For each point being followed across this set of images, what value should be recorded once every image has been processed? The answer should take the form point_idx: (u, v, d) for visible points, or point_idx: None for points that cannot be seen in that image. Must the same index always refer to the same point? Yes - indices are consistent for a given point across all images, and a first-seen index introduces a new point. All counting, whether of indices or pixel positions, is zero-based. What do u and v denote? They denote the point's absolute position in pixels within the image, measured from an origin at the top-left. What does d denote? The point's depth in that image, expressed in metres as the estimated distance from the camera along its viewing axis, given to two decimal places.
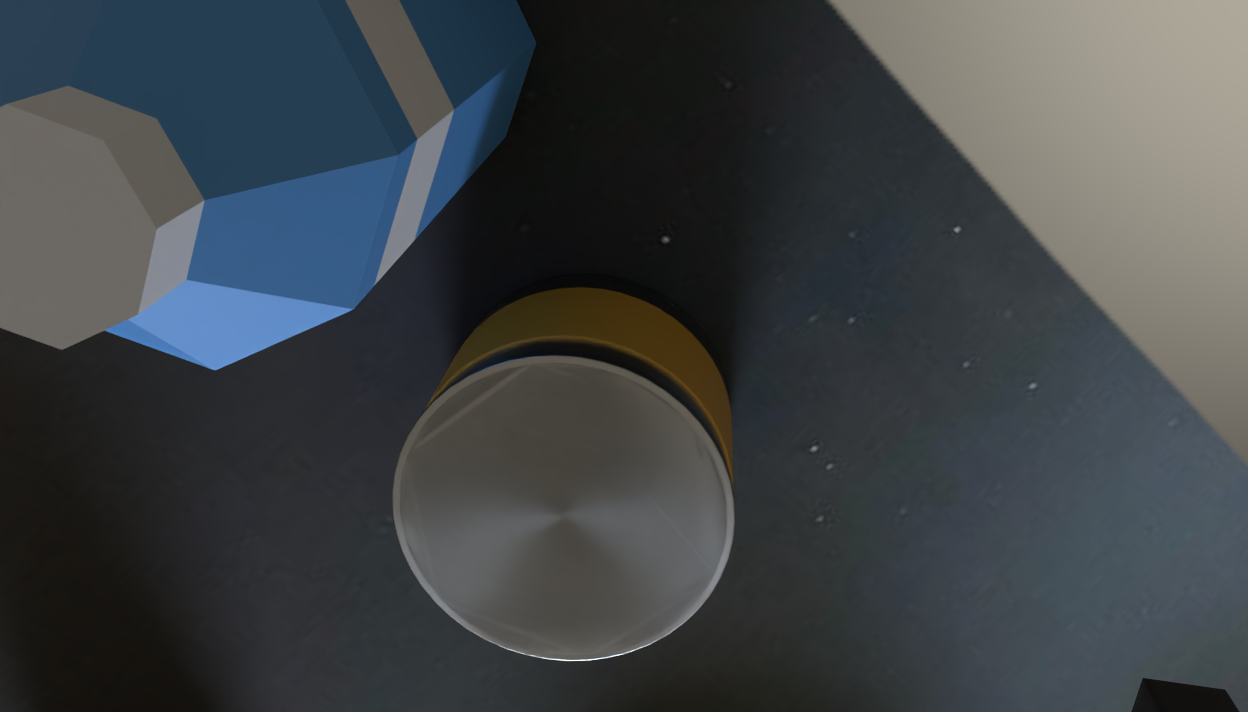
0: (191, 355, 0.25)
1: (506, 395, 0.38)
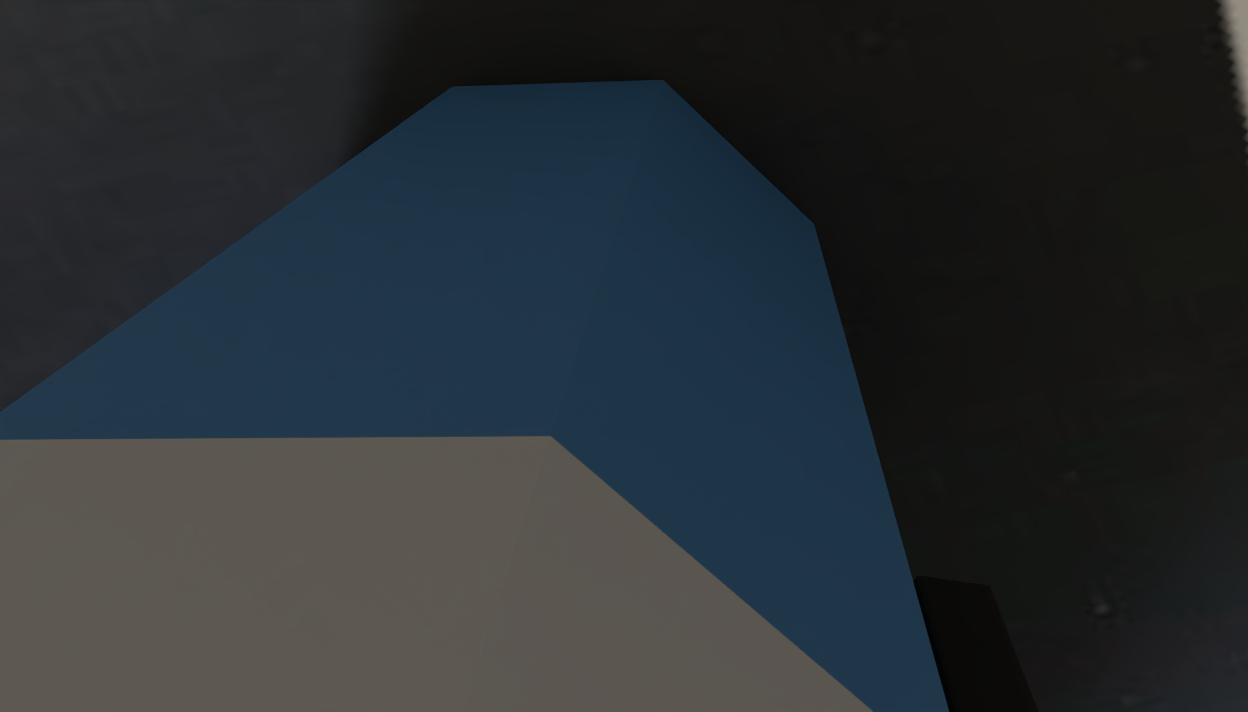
0: None
1: None
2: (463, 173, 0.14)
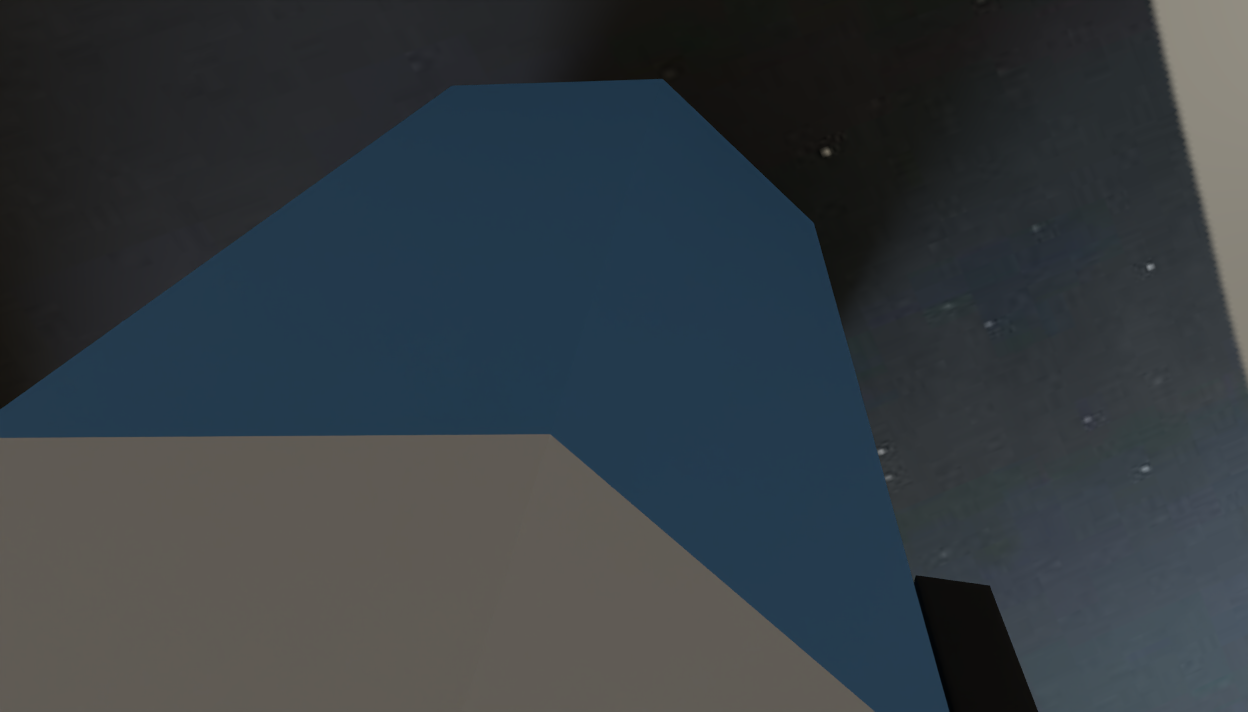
0: None
1: None
2: (462, 172, 0.14)
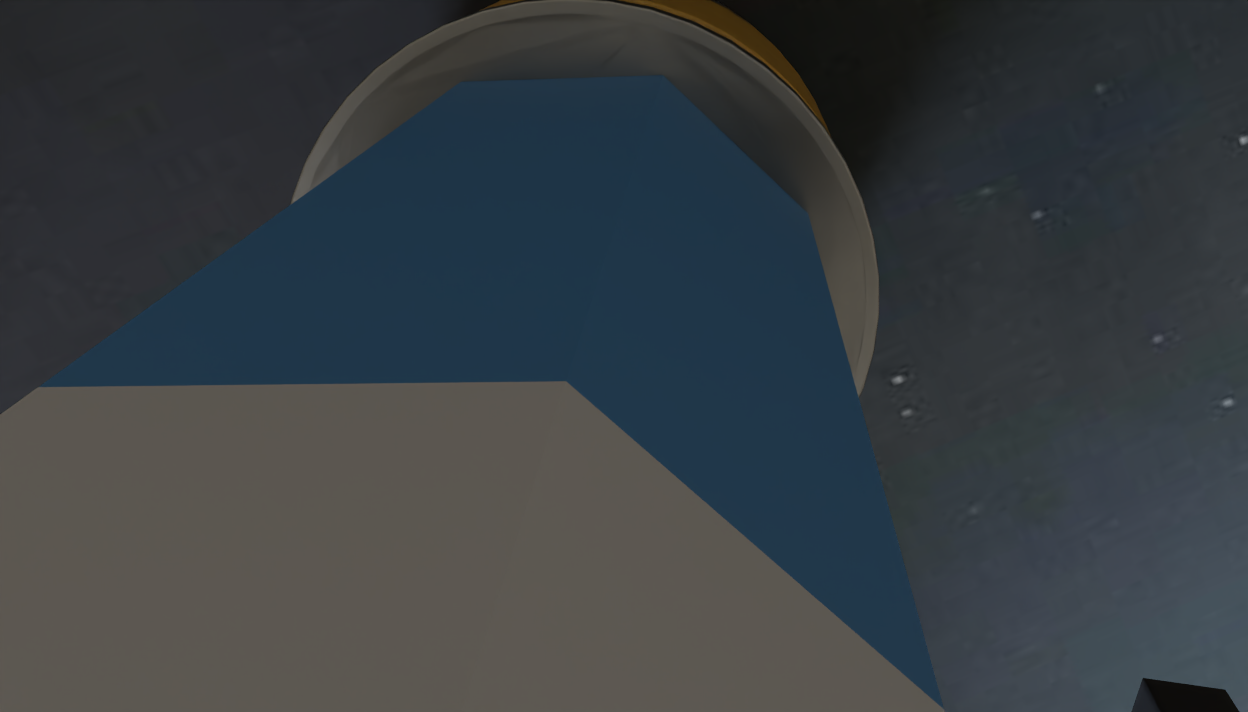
0: None
1: (575, 64, 0.21)
2: (476, 160, 0.14)
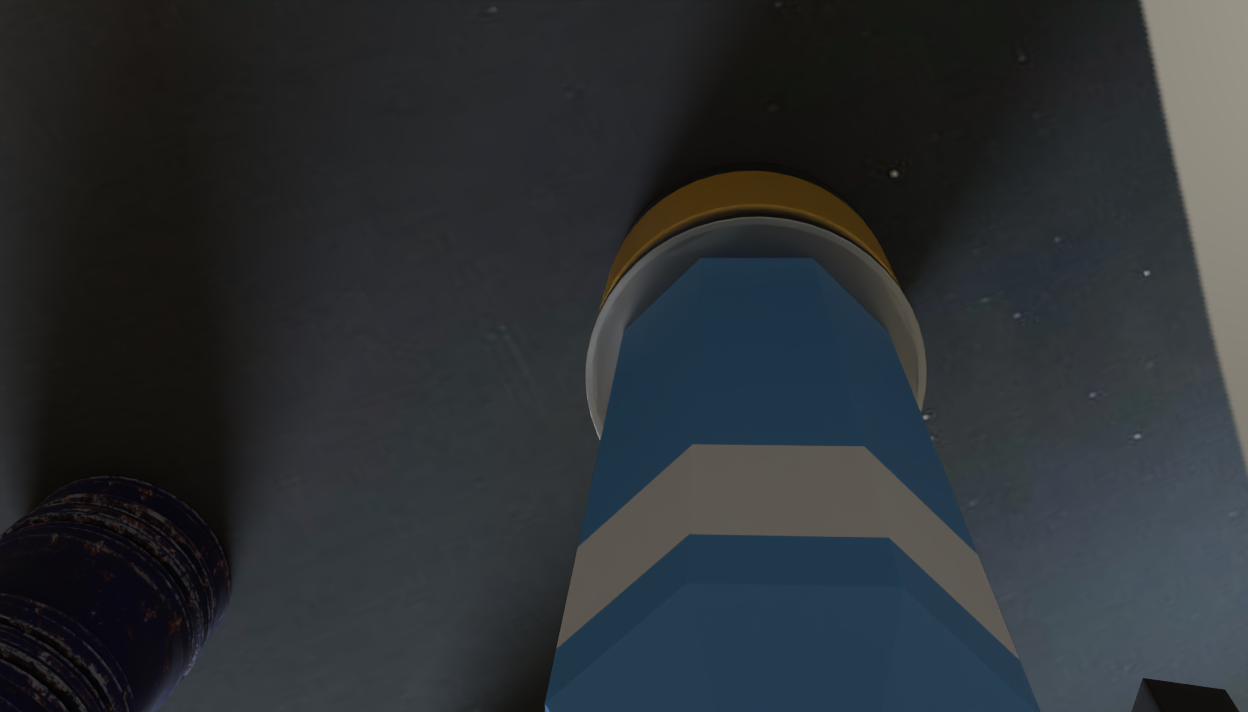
0: None
1: (765, 250, 0.38)
2: (758, 330, 0.32)
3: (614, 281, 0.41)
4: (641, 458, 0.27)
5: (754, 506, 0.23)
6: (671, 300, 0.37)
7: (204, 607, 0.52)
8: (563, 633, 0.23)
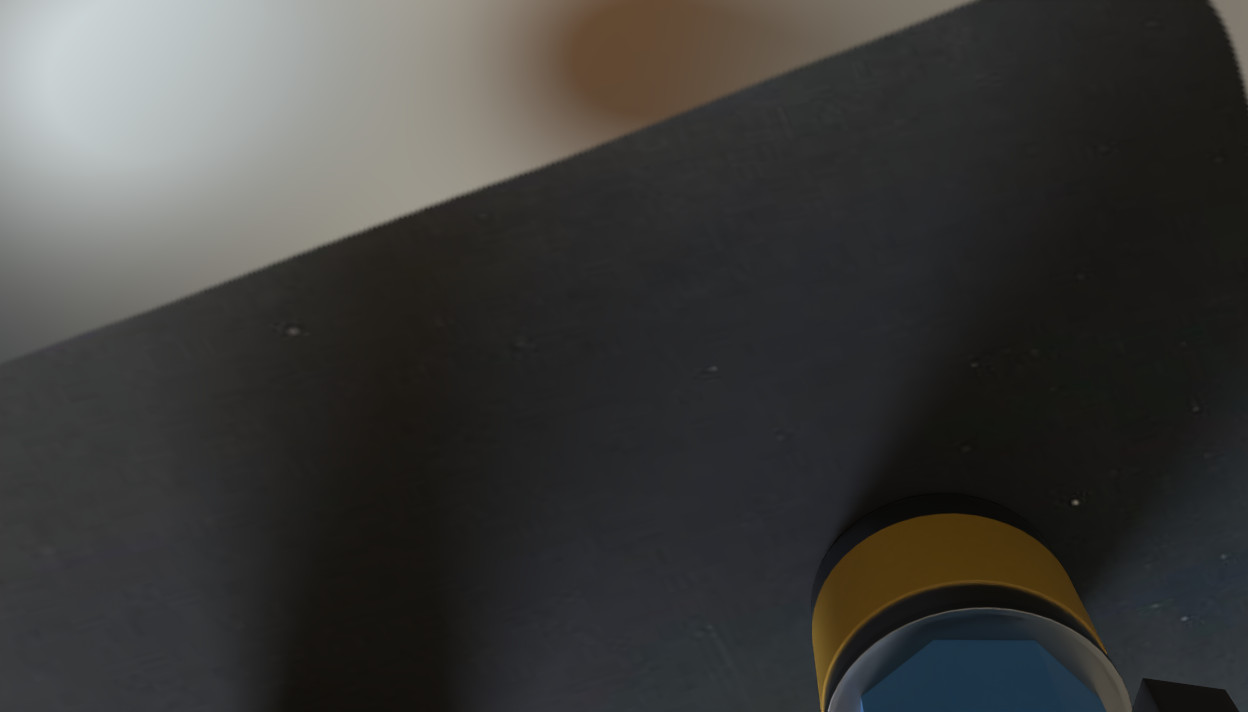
0: None
1: (992, 634, 0.43)
2: None
3: (845, 640, 0.46)
4: None
5: None
6: (915, 688, 0.42)
7: None
8: None
